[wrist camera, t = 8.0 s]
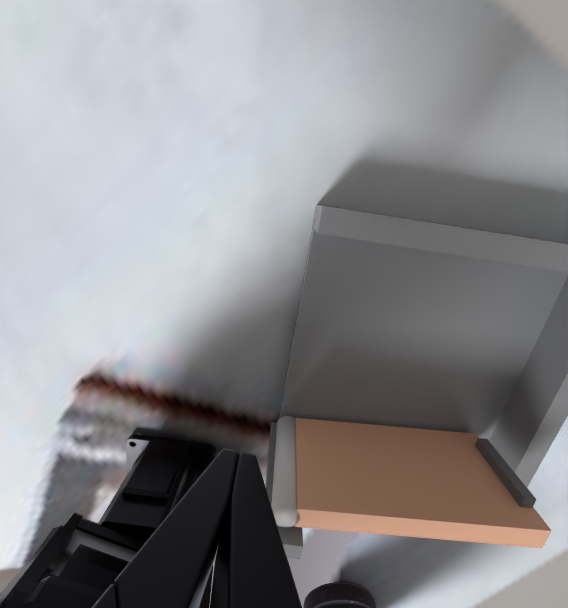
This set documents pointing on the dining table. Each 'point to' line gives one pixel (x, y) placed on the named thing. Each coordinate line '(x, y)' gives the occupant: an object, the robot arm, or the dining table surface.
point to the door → (400, 484)
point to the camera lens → (339, 596)
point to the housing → (430, 335)
